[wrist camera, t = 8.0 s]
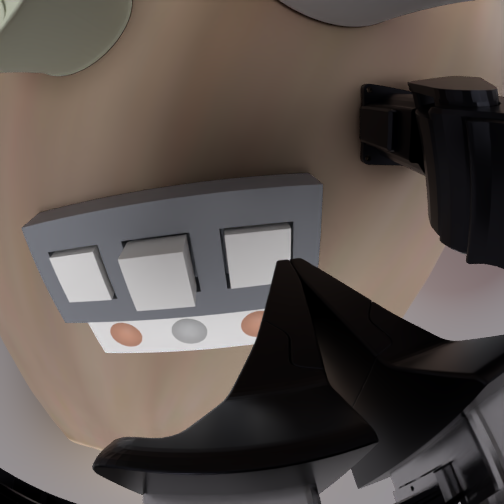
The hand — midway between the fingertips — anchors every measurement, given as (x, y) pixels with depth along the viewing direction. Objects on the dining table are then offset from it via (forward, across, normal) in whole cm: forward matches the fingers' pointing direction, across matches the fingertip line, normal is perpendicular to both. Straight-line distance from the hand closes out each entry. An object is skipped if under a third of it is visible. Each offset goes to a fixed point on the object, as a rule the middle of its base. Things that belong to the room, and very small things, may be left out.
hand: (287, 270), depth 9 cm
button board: (+12, +7, +5) cm, 15 cm away
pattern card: (+12, +7, +14) cm, 20 cm away
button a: (+11, +14, +5) cm, 19 cm away
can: (+12, +12, -15) cm, 23 cm away
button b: (+11, 0, +5) cm, 12 cm away
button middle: (+9, +7, +5) cm, 13 cm away
